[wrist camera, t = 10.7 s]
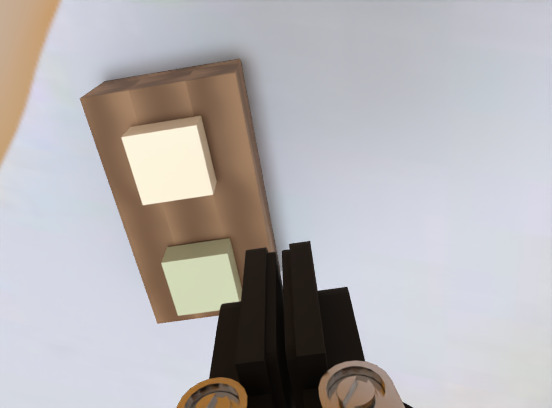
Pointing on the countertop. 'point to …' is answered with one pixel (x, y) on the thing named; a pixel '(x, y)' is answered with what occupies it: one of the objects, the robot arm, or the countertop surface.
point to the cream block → (170, 160)
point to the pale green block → (202, 276)
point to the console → (225, 158)
